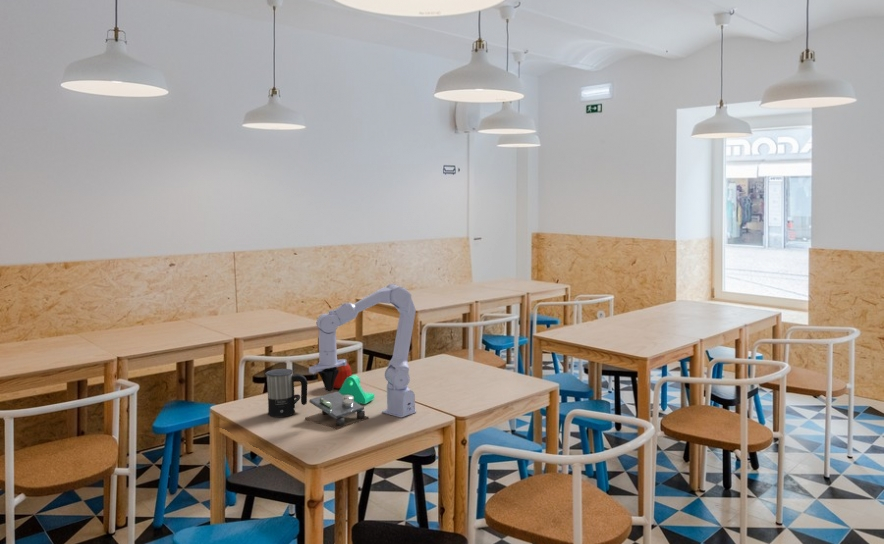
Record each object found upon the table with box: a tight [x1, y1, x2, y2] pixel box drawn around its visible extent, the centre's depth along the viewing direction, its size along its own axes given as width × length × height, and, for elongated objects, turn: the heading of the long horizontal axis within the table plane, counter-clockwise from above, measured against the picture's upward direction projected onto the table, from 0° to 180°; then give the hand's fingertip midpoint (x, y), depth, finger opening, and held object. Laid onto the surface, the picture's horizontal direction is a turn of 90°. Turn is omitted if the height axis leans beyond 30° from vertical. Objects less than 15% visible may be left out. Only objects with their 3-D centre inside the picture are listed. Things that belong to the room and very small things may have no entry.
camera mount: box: [338, 374, 375, 404], centre depth 243 cm, size 12×8×10 cm, turn 68°
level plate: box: [308, 391, 365, 419], centre depth 222 cm, size 14×12×4 cm
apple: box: [333, 358, 353, 390], centre depth 261 cm, size 10×10×12 cm
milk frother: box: [264, 368, 308, 418], centre depth 233 cm, size 14×16×15 cm
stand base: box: [304, 410, 369, 430], centre depth 223 cm, size 16×14×3 cm
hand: (329, 390), depth 220 cm, fingers closed
